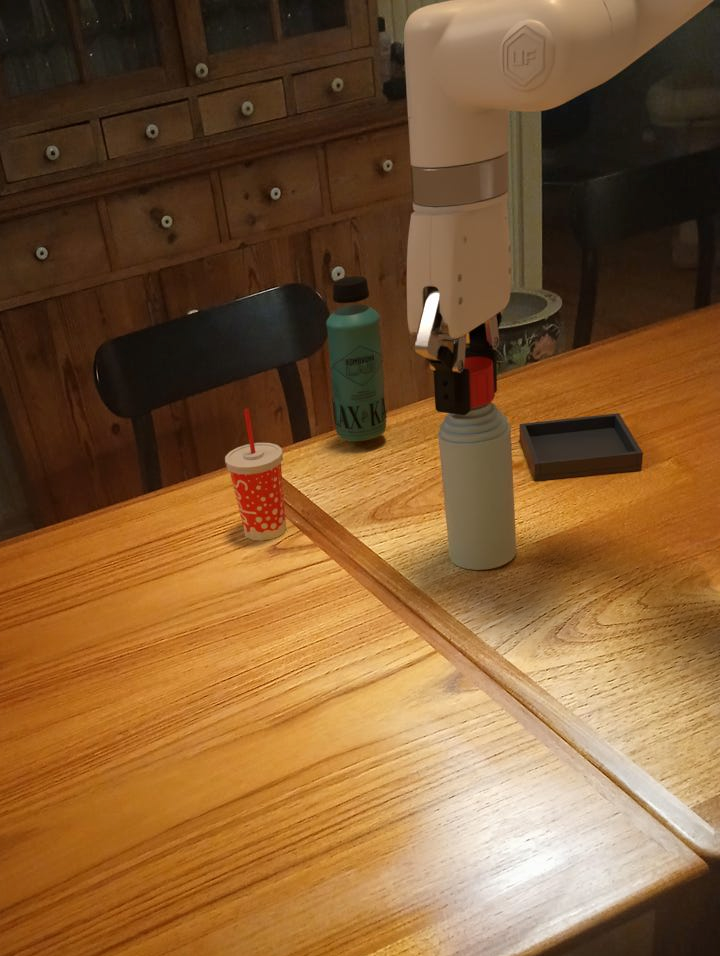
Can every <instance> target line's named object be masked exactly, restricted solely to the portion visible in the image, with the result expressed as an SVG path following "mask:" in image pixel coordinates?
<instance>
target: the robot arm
mask: <svg viewBox="0 0 720 956" xmlns="http://www.w3.org/2000/svg"><path fill="white" fill-rule="evenodd" d="M714 1H715V0H446V1H442V2H437V3H432V4H429V5H428V4H427V5H425V6H422V7H419V8H417V9H416V10H414V11H413V12H412V13H411V14H410V15H409V16H408V18H407V20H406V22H405V25H404V30H403V49H404V50H403V51H404V53H403V55H404V70H405V85H406V89H405V90H406V106H407V107H406V108H407V123H408V139H409V140H408V141H409V143H408V144H409V158H410V159H409V160H410V177H411V194H412V195H411V197H412V210H413V211H412V213H411V214H410V219H409V228H408V237H407V253H406V309H407V310H406V314H407V315H406V316H407V317H406V318H407V326H408V331H409V333H410V335H412V336H416V340H415V344H414V352H415V353H416V354H418V355H420V356H421V357H423V358H424V359H426V361H427V362H428V363H429V369H430V370H431V371H433V389H434V390H433V391H434V408H435V410H436V411H437V412H438V413H445V414H449V413H451V414H458V415H466V414H467V413H469V412H470V382H469V369H464V365H465V358H467V357H486V358H489V359H491V360H492V361H493V372H494V390H495V394H496V393H497V391H498V372H497V371H498V367H497V366H498V365H497V364H498V363H497V359H498V357H497V348H498V347H499V344H500V335H499V333H500V332H499V329H500V326H501V323H502V322H503V320H502V318H503V314H504V312H505V310H506V308H507V306H508V304H509V302H510V298H511V293H512V292H511V291H512V252H511V235H510V232H511V231H510V222H509V213H508V211H509V210H508V203H507V200H508V199H509V196H510V195H509V193H510V191H509V111H512V112H524V113H534V112H536V113H537V112H543V111H548V110H551V109H554V108H557V107H559V106H561V105H563V104H566V103H567V102H569V101H571V100H573V99H575V98H577V97H579V96H581V95H582V94H584V93H586V92H588V91H591V90H592V89H595V88H596V87H598V86H600V85H603V84H604V83H606V82H607V81H609V80H611V79H612V78H614V77H616V76H617V75H618V74H619V73H621V72H622V71H624V70H625V69H626V68H627V67H629V66H630V65H631V64H633V63H634V62H636V61H637V60H638V59H639V58H640V57H642V56H643V55H644V54H646V53H648V52H649V51H650V50H651V49H652V48H654V47H655V46H657V45H658V44H659V43H661V42H662V41H663V40H664V39H666V38H667V37H668V36H670V34H672V33H674V32H675V31H676V30H678V29H679V28H681V26H683V25H684V24H685V23H687V22H688V21H689V20H691V19H692V18H693V17H695V16H696V15H697V14H699V13H700V12H701V11H703V10H704V9H705V8H706V7H708V6H709V5H710V4H711V3H713V2H714ZM443 327H447V328H448V331H443ZM444 342H450V343H451V342H453V343H452V344H453V345H452V350H451V349H450V348H449V347H448V346H446V345H444Z"/></svg>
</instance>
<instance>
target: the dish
mask: <svg viewBox="0 0 720 956" xmlns="http://www.w3.org/2000/svg"><path fill="white" fill-rule="evenodd" d="M519 442H520V445H521V448H522V451H523V453H524V457H525V460H526V463H527V465H528V468H529V470H530V473H531V475H532V479H533V481H534V482H539V481H550V480H559V479H569V478H578V477H588V476H599V475H608V474H609V475H610V474H620V473H628V472H638V471H642V470H643V457H644V452H643V450H642V449H641V447H640V445H639V443H638V442H637V440H636V438H635V437H634V435H633V434H632V432H631V431H630V429H629V426H628V425H627V424H626V422H625V421H624V418H623V417H622V415H621V414H620V413H618V412H617V413H616V412H615V413H607V414H598V415H589V416H580V417H571V418H570V417H569V418H560V419H552V420H543V421H534V422H525V423H519Z"/></svg>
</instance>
